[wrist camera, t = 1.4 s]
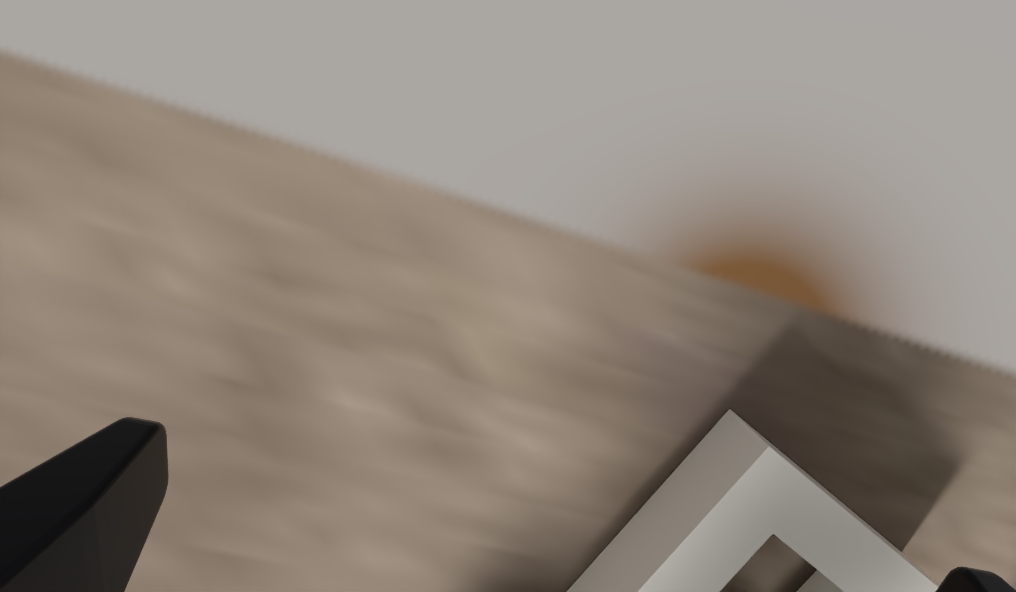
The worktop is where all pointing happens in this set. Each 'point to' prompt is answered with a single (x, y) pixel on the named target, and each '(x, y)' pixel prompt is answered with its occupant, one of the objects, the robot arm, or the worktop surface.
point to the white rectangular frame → (745, 526)
